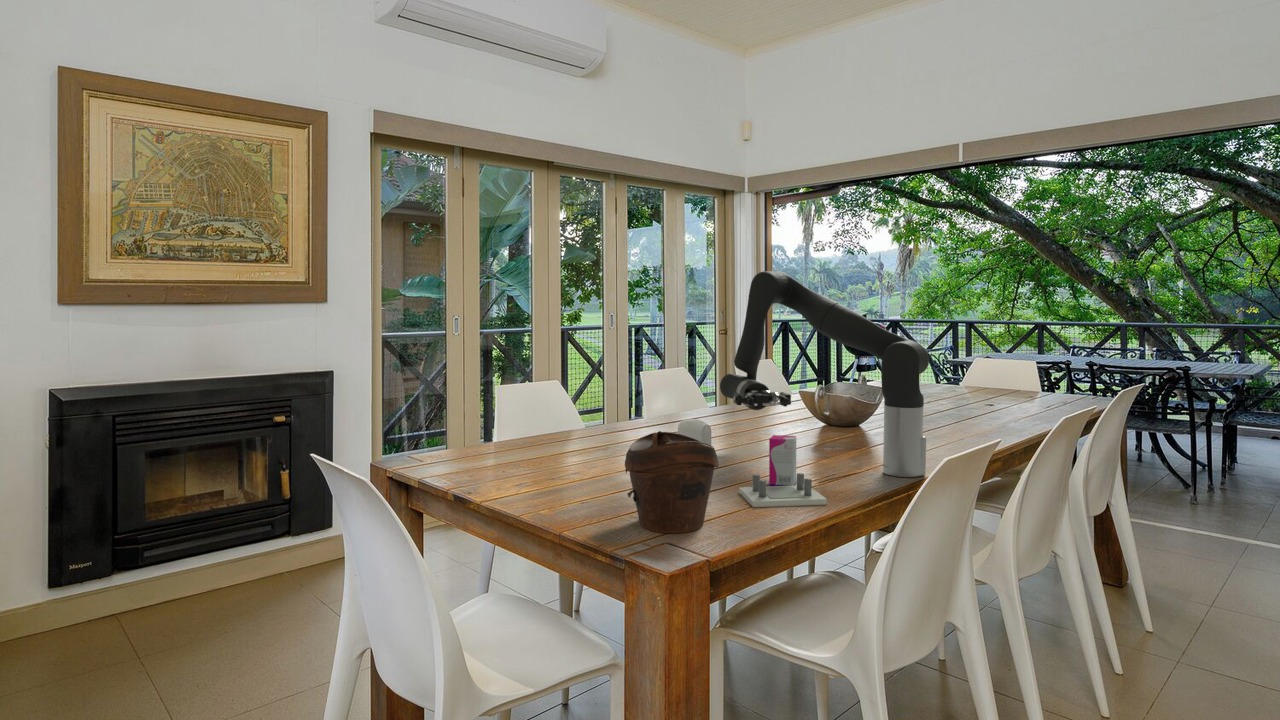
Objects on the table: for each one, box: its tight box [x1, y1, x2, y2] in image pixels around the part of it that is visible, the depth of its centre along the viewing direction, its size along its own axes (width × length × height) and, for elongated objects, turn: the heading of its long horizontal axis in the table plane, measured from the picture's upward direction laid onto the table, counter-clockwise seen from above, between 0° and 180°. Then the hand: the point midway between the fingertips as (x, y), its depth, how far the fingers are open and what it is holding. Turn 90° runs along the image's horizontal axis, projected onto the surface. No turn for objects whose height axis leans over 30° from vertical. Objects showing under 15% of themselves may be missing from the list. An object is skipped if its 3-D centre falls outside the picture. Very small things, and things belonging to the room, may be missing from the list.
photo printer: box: [677, 418, 712, 446], centre depth 192 cm, size 10×4×12 cm, turn 39°
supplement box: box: [768, 434, 797, 486], centre depth 171 cm, size 6×6×12 cm
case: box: [624, 430, 720, 534], centre depth 141 cm, size 18×20×18 cm
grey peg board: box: [739, 472, 828, 508], centre depth 159 cm, size 16×12×5 cm
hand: (769, 402), depth 181 cm, fingers open, 8 cm apart
